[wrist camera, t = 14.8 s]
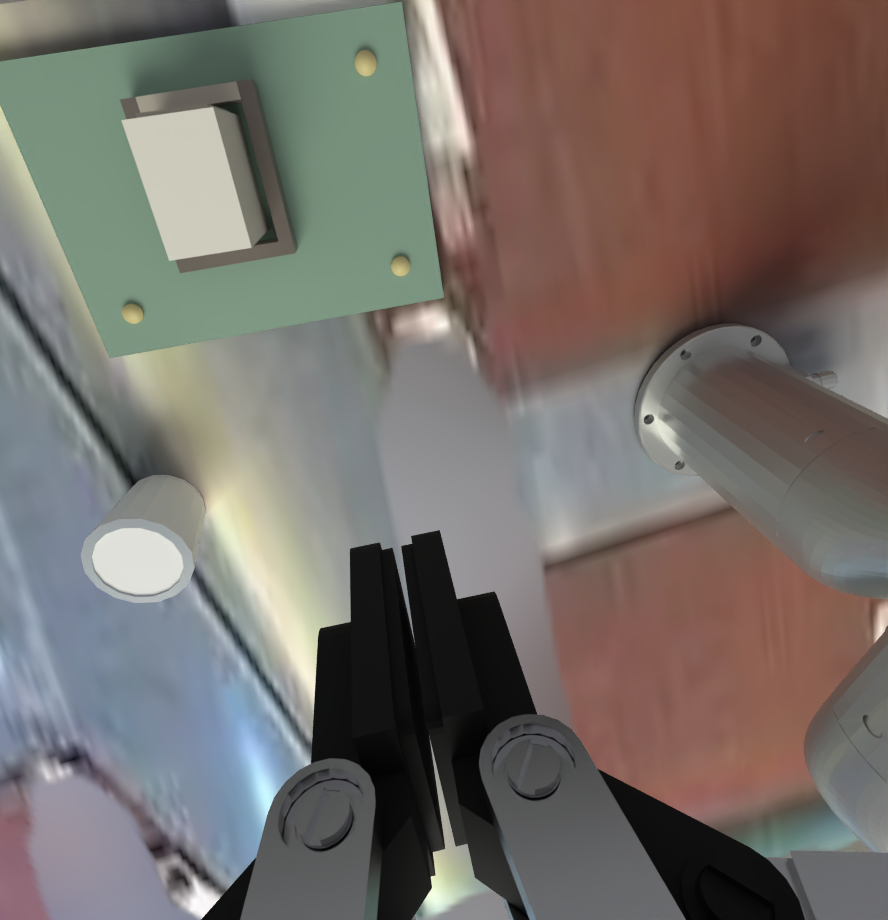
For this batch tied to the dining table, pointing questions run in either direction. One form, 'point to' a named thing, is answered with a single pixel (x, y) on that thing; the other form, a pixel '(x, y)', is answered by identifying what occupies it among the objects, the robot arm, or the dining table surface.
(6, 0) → the grey push button box
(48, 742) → the dining table surface
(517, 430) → the dining table surface
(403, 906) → the robot arm
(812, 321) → the dining table surface
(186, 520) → the gray cup
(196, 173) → the plug
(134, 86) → the board
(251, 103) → the socket
